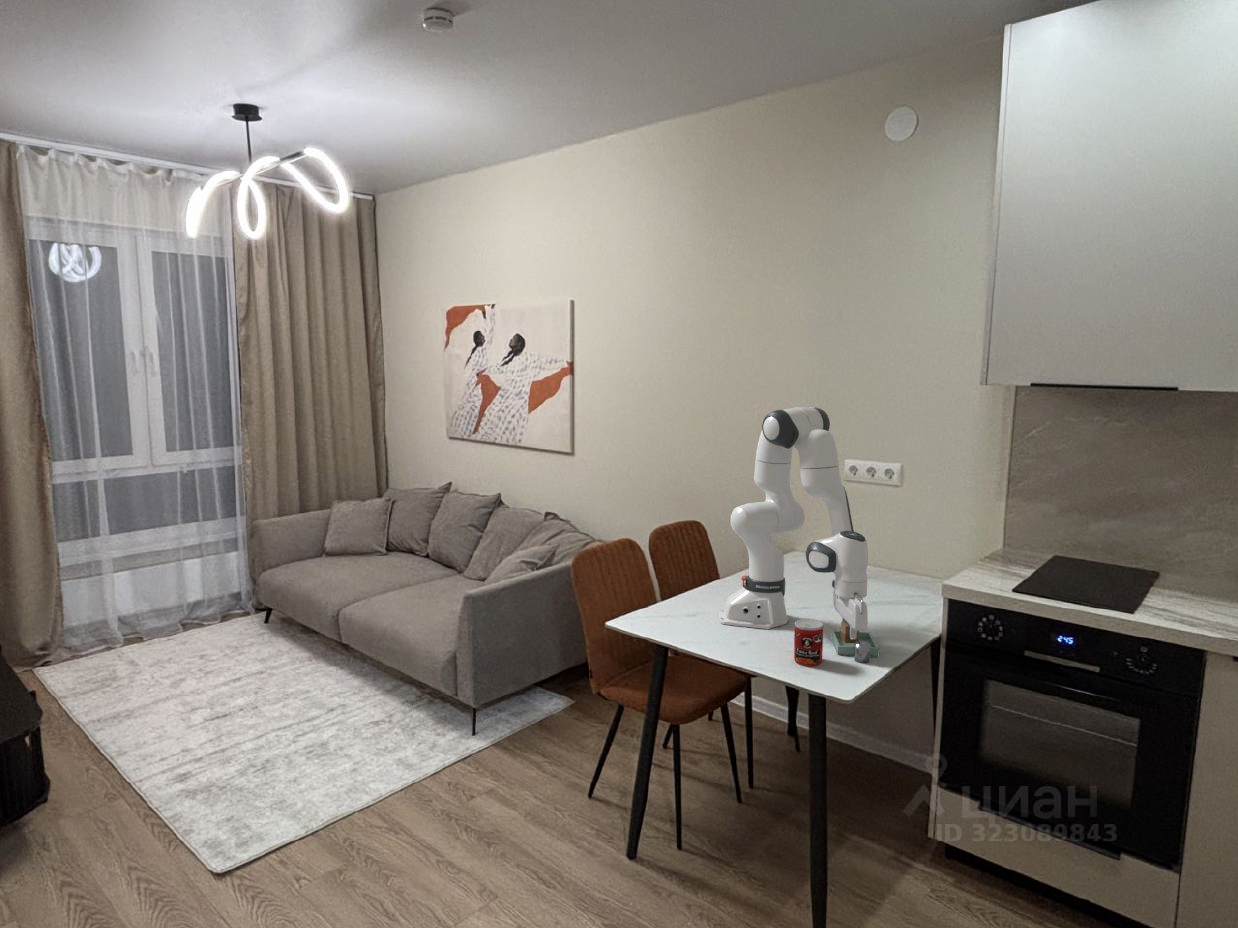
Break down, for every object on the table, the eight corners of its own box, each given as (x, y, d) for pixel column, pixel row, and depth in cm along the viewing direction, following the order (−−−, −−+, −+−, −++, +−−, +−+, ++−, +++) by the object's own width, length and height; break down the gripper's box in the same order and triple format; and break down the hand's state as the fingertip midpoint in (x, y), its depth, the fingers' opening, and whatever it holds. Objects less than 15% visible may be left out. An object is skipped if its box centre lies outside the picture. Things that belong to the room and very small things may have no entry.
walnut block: (844, 643, 215) (845, 626, 214) (840, 638, 219) (841, 621, 218) (858, 642, 215) (859, 625, 214) (854, 638, 219) (854, 621, 218)
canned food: (792, 664, 208) (792, 626, 206) (796, 654, 215) (796, 617, 214) (820, 668, 205) (821, 629, 204) (823, 658, 213) (824, 620, 211)
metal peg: (855, 663, 209) (856, 645, 208) (853, 657, 213) (853, 640, 212) (870, 663, 208) (871, 646, 208) (867, 658, 212) (868, 641, 212)
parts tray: (837, 654, 215) (837, 646, 214) (831, 638, 228) (831, 630, 227) (878, 656, 213) (878, 648, 213) (869, 640, 226) (870, 632, 226)
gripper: (874, 599, 205) (872, 648, 207) (850, 578, 225) (849, 623, 227) (851, 599, 205) (849, 648, 206) (829, 579, 225) (828, 623, 227)
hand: (849, 635), depth 217 cm, fingers closed on walnut block, 4 cm apart
